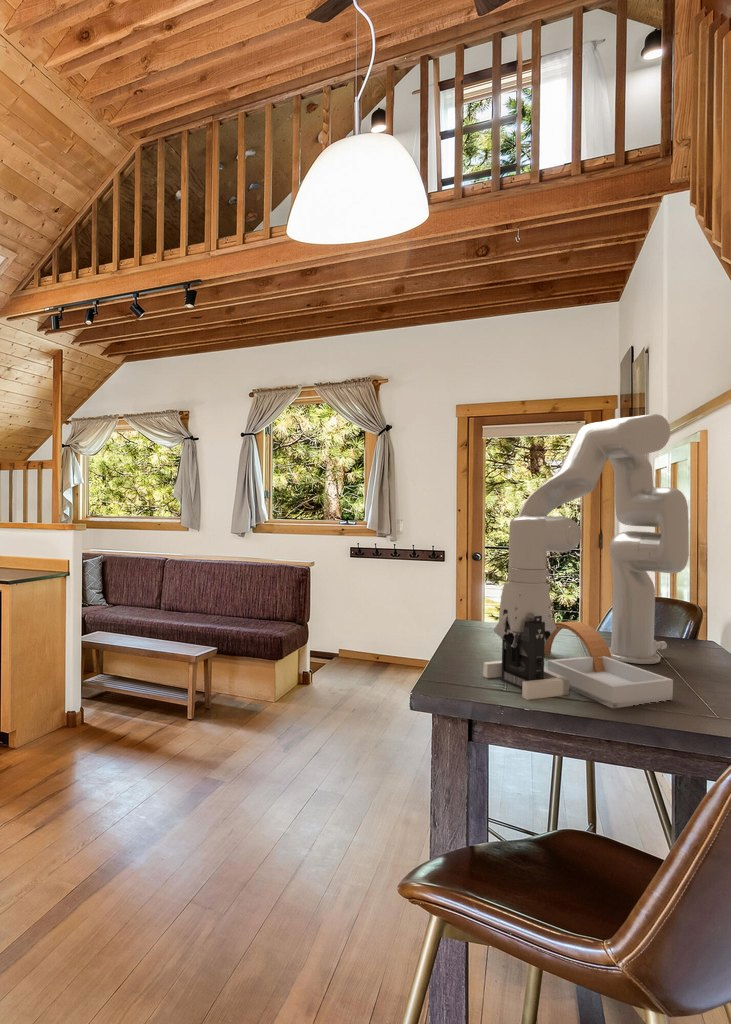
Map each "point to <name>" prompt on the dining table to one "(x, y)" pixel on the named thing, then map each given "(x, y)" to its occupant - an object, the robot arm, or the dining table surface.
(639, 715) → the dining table surface
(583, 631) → the arch
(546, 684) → the cream piece
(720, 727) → the dining table surface
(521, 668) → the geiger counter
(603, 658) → the parts tray
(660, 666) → the dining table surface
